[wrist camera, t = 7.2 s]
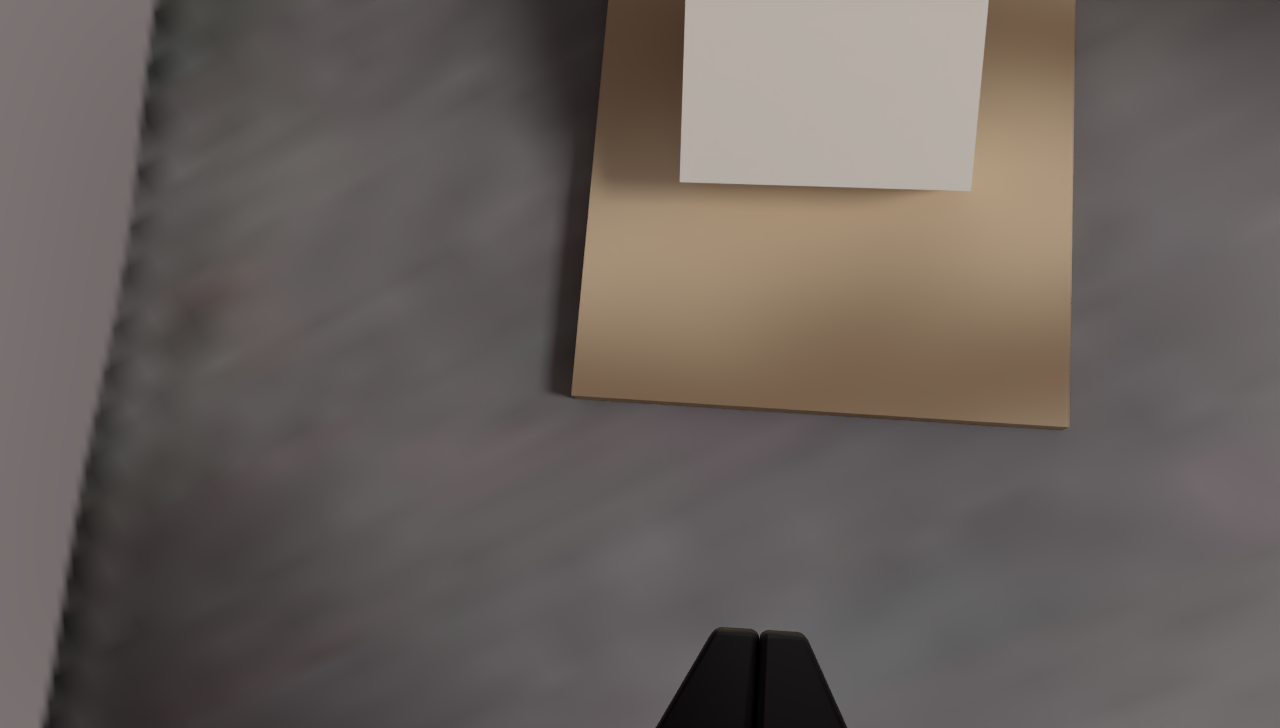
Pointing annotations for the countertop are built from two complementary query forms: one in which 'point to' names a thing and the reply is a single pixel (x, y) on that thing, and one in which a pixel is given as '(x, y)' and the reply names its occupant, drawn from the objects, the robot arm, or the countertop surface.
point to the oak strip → (834, 254)
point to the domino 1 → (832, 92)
